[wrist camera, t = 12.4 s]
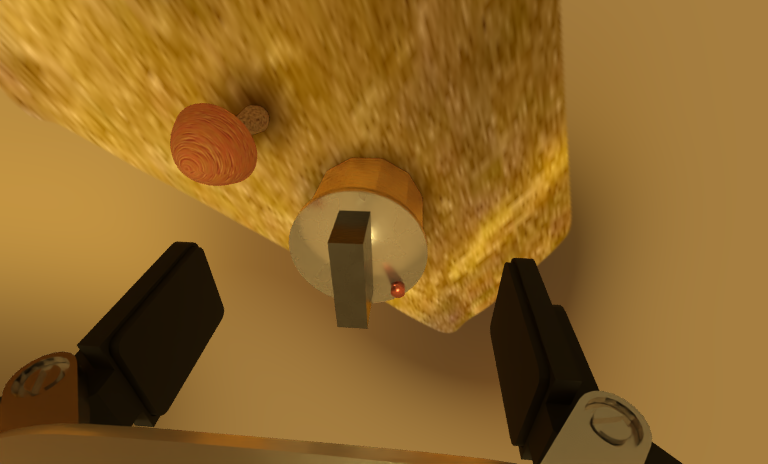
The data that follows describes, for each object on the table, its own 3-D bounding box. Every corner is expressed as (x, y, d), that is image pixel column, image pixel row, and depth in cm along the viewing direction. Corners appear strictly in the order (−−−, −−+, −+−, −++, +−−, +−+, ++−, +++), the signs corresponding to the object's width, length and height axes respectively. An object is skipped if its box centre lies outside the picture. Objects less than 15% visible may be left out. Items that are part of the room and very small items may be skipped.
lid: (286, 178, 39) (257, 220, 32) (431, 182, 38) (433, 227, 31) (305, 285, 47) (285, 336, 41) (423, 291, 46) (423, 345, 39)
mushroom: (207, 108, 43) (121, 159, 31) (250, 62, 40) (172, 100, 28) (259, 159, 46) (199, 224, 34) (302, 120, 43) (254, 177, 31)
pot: (310, 156, 45) (288, 190, 38) (424, 159, 44) (425, 195, 37) (322, 247, 53) (305, 290, 46) (419, 252, 52) (418, 297, 45)
